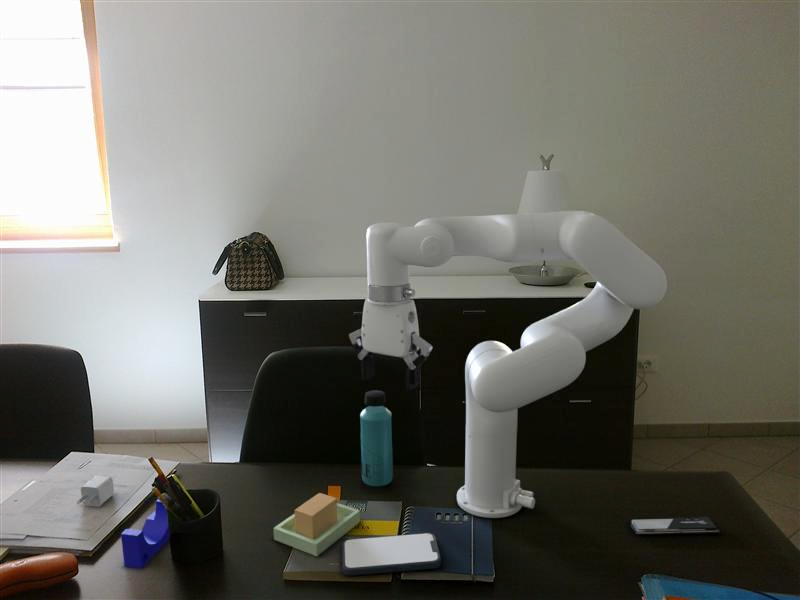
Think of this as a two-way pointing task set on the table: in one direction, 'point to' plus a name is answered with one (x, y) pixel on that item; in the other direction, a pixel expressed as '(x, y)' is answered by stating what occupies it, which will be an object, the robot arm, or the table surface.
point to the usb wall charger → (96, 491)
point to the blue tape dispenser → (146, 538)
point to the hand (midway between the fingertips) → (389, 383)
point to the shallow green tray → (316, 546)
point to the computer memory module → (674, 526)
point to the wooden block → (316, 515)
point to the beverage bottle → (376, 440)
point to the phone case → (390, 554)
